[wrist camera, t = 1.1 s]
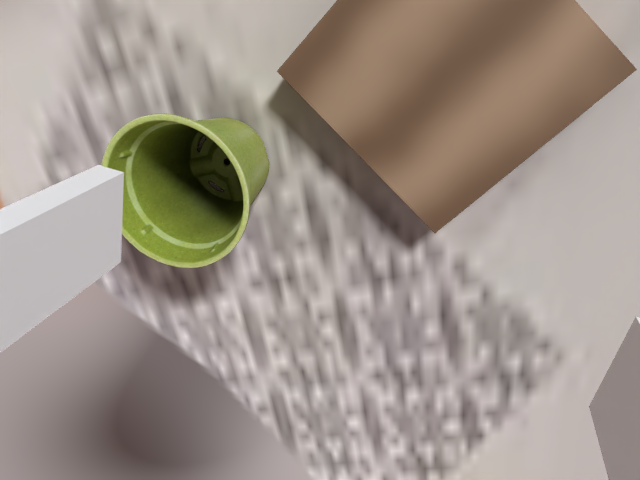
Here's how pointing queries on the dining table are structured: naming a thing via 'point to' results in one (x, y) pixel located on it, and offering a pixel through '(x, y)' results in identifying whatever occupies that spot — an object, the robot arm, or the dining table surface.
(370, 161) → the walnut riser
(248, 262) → the dining table surface
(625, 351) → the robot arm
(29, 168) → the dining table surface
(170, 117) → the plant pot
